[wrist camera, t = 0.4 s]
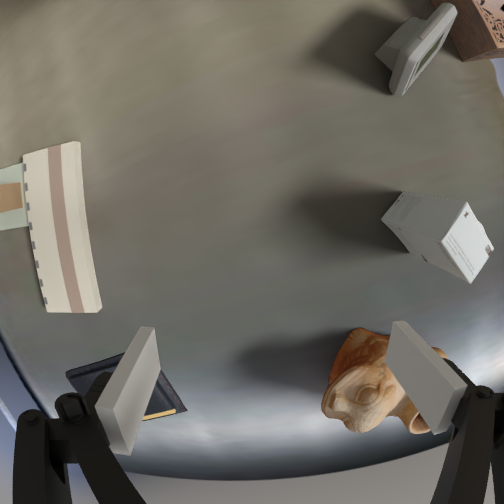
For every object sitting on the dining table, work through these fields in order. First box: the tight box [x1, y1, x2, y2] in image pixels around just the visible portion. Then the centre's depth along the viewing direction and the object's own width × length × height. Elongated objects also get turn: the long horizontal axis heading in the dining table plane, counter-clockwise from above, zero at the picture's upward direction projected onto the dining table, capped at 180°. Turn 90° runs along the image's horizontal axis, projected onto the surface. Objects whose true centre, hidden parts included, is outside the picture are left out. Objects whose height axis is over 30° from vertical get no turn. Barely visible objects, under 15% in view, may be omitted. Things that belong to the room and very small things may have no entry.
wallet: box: [66, 353, 188, 421], centre depth 48 cm, size 20×2×15 cm
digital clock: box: [375, 3, 457, 96], centre depth 31 cm, size 16×9×11 cm, turn 129°
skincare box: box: [381, 192, 494, 284], centre depth 35 cm, size 8×6×15 cm
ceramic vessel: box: [321, 328, 448, 434], centre depth 41 cm, size 14×26×15 cm, turn 74°
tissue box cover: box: [430, 0, 504, 62], centre depth 29 cm, size 26×14×10 cm, turn 113°
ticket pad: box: [23, 141, 102, 313], centre depth 40 cm, size 25×10×2 cm, turn 3°
